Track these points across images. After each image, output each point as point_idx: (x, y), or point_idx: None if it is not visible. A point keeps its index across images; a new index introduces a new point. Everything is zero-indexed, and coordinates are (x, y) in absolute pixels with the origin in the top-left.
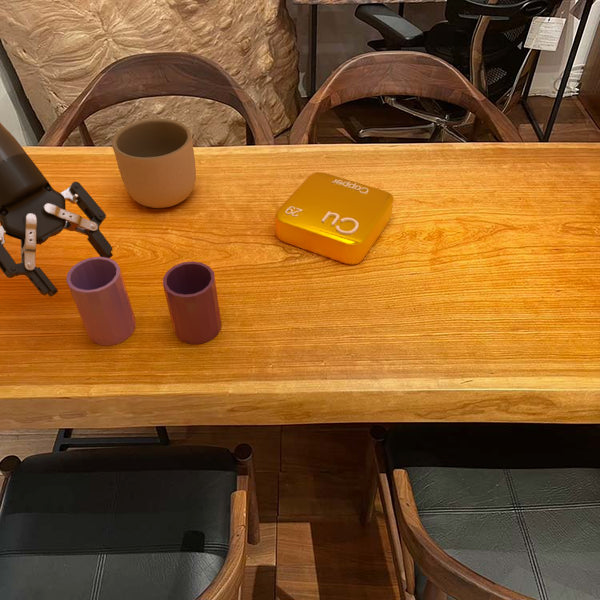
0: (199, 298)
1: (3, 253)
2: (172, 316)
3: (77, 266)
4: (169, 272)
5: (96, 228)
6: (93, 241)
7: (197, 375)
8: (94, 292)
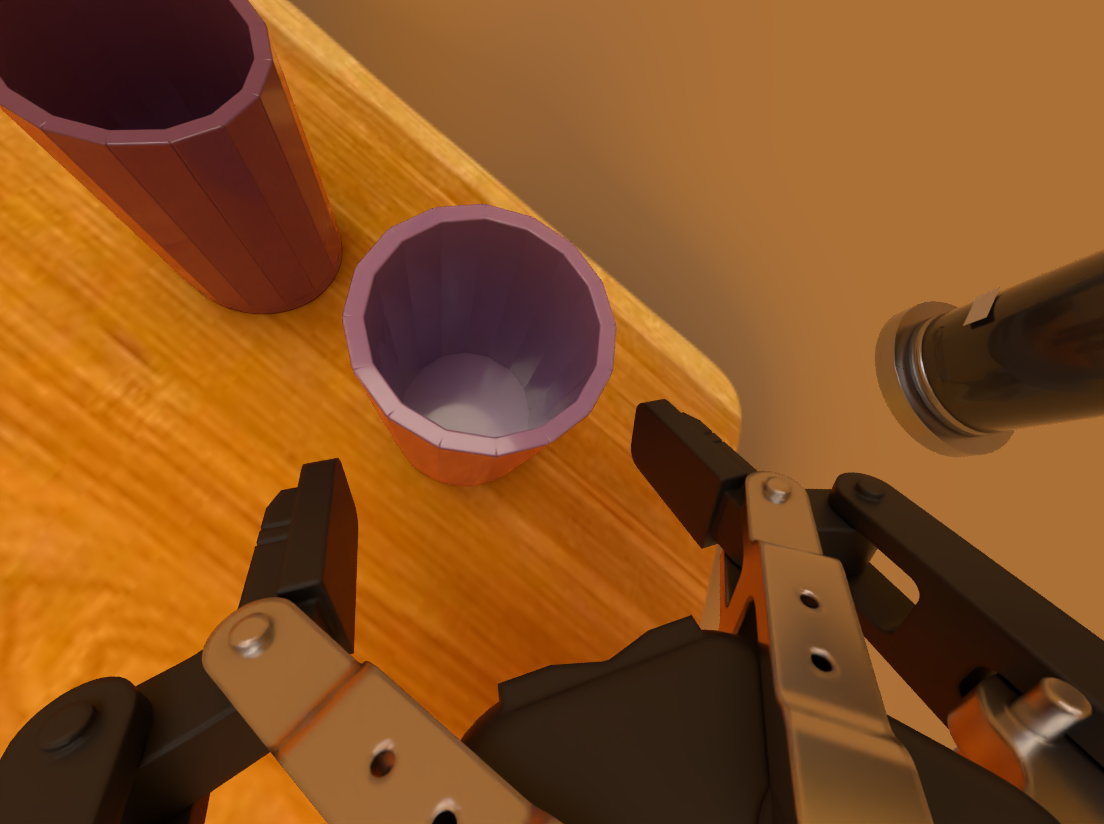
0: None
1: (971, 579)
2: (318, 190)
3: (526, 431)
4: (166, 129)
5: (245, 612)
6: (339, 577)
7: (384, 140)
8: (541, 227)
